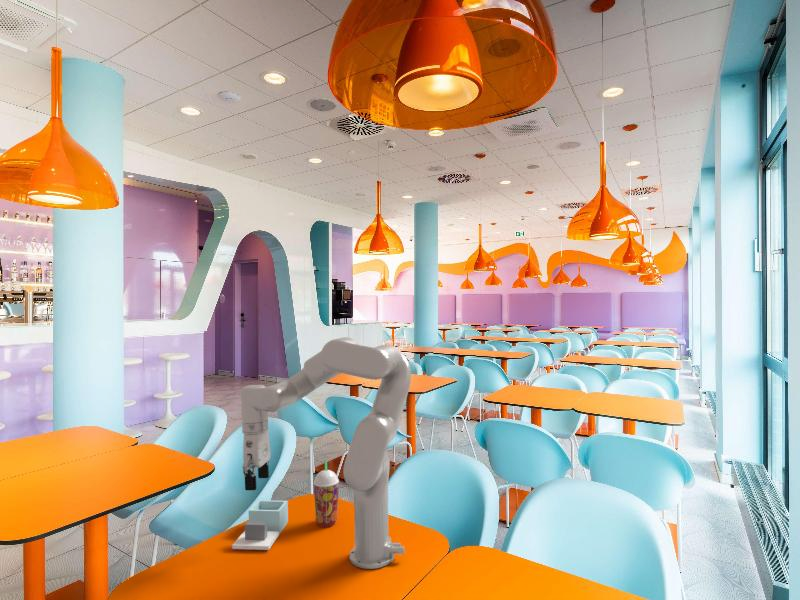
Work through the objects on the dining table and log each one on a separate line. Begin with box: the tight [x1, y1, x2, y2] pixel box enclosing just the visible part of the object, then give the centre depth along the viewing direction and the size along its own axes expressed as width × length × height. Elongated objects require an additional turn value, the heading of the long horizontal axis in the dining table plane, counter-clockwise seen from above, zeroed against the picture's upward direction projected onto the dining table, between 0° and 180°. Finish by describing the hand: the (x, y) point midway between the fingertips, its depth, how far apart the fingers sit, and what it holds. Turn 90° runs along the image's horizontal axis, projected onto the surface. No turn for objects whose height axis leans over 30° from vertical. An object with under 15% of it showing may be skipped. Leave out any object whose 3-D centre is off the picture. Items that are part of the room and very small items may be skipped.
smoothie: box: [312, 461, 340, 528], centre depth 155 cm, size 8×8×20 cm
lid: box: [231, 520, 280, 551], centre depth 142 cm, size 11×9×6 cm
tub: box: [248, 499, 289, 535], centre depth 152 cm, size 10×8×7 cm
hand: (257, 483), depth 142 cm, fingers open, 9 cm apart
